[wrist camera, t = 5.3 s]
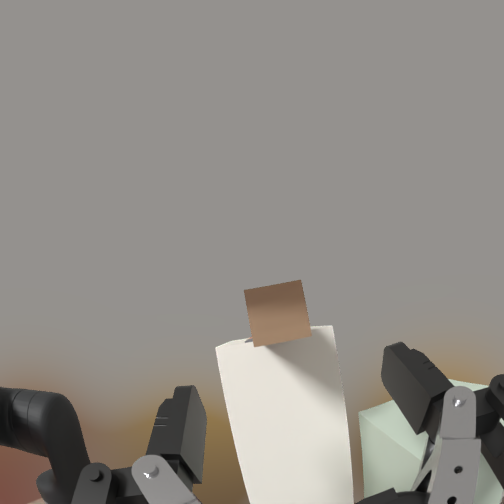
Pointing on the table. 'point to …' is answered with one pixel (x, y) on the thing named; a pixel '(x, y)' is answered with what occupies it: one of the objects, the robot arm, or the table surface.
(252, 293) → the bar
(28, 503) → the table surface
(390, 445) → the step
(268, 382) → the stand
